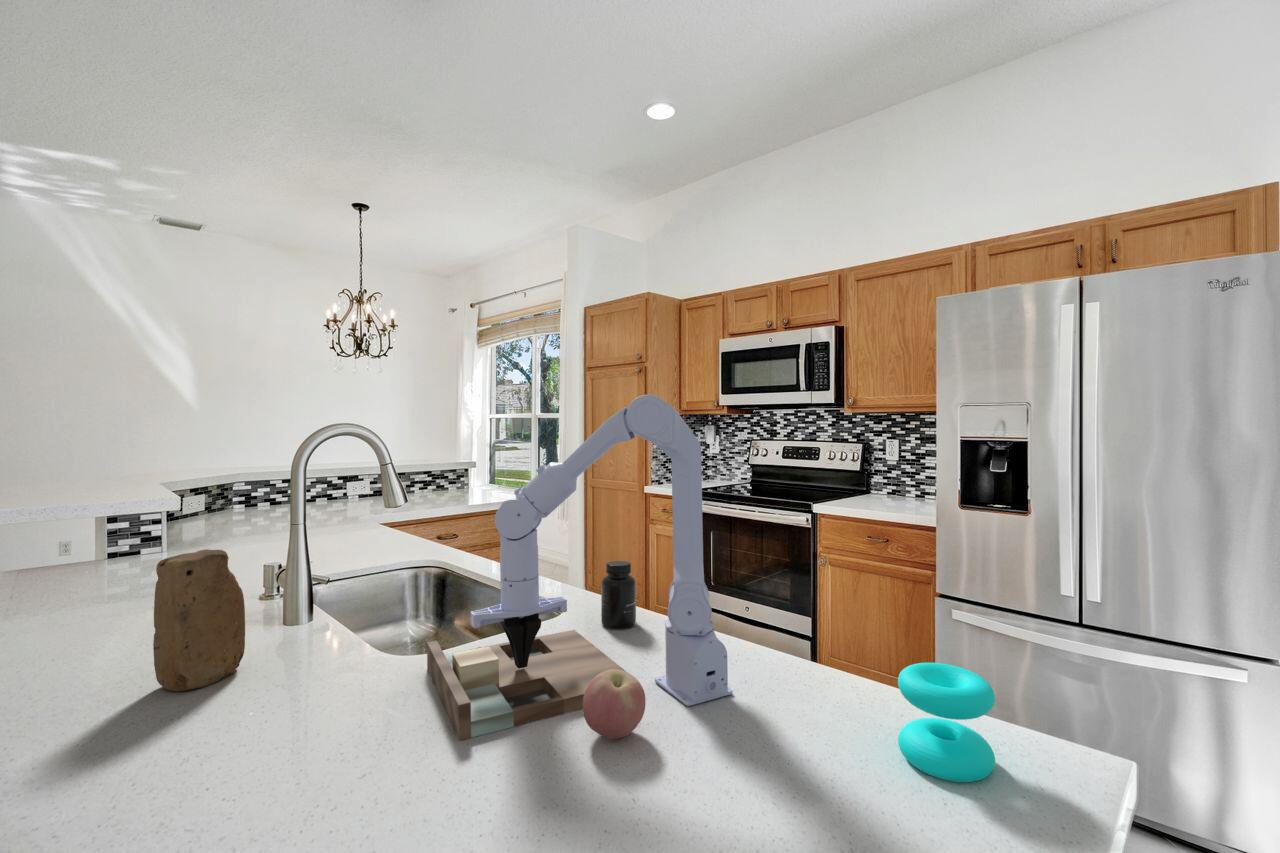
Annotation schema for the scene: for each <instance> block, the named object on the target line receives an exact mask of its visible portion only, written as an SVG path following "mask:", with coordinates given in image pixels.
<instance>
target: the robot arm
mask: <svg viewBox="0 0 1280 853" xmlns="http://www.w3.org/2000/svg"><path fill="white" fill-rule="evenodd" d="M635 435H636V436H637V437H639V438H641V439H643V440H645V441H648V442H650V443H652V444H655V446H657V448H658V449H660V450H661V451H662V452H663V453H665V455H667V457H669V458H670V460H671V486H672V487H671V496H672V497H671V500H672V501H671V502H672V542H673V543H672V548H673V549H672V551H673V579H672V582H671V583H670V586H669V589H668V605H667V610H666V611H667V620H666V621H665V623H664V625H665V629H664V630H665V674H664V675H660V676H657V677H655V678H654V682H655V683H656V684H658V685H659V686H660V687H662V688H663V689H664V690H666V691H667V692H668V693H670V694H671V695H672V696H673V697H675V699H677V700H679V702H681V703H683V704H684V705H685V706H686V707H687V706H688V707H691V706H694V705H698V704H702V703H704V702H708V701H711V700H715V699H719V698H723V697H726V696H729V695H732V694H733V689H731V688H730V687H729V686H728V684H729V683H728V680H729V679H728V668H729V667H728V651H727V648H726V646H725V645H724V643H723V642H722V641H721V640H720V639H719V638H718V637H717V635H716V633H715V627H714V626H715V625H714V621H713V620H712V615H713V614H712V613H713V611H712V606H711V603H710V596H709V595H710V592H709V589H708V586H707V585H706V583H705V573H704V572H705V571H704V570H705V569H704V537H703V536H704V535H703V534H704V533H703V532H704V530H703V528H704V526H703V525H704V524H703V483H702V482H703V480H702V478H703V476H702V473H703V472H702V448H701V443H700V441H699V439H698V438H697V437H696V435H695V433H693V431H692V430H691V429H690V427H689V426H688V425H687V423H686V422H685V420H684V419H683V418H682V417H681V414H680V413H679V412H678V410H676V408H675V407H673V406H672V405H671V404H669V403H668V402H667V401H665V400H664V399H662V398H661V397H660V396H657V395H653V394H643V395H639V396H638V397H636V398H635V399H633V400H632V401H631V402H630V404H629V405H628V406H627V407H626V406H625V407H623V408H622V409H620V410H618V411H617V412H616V413H614V414H613V415H612V416H610V417H609V418H608V419H607V420H605V421H603V423H602V424H601V425H600V426H599V427H598V428H597V429H596V430H595V431H593V433H592V434H591V435H590V436H589V437H587V438H586V440H584V442H582V443H581V445H580V446H578V447H577V448H576V450H574V451H573V452H572V453H571V454H570V455H569V456H568V457H567V458H566V459H565V460H564V461H563V462H555V461H551V462H549V463H548V464H547V465H545V464H541V465H540V466H539V467H538V468H537V469H536V470H535V471H536V473H537V474H536V475H535V476H534V477H532V479H530V481H528V483H526V484H525V485H524V486H523V487H520V486H519V487H518V488H516V489H515V490H514V491H513V494H514V495H515V497H514V498H512V499H511V498H510V499H508V500H504V501H503V502H502V503H501V505H500V506H499V507H498V509H497V510H496V512H495V514H494V524H495V528H496V530H497V532H498V533H499V535H500V536H499V542H500V547H499V566H500V567H499V574H500V577H499V578H500V603H499V604H496V605H492V606H489V607H485V608H482V609H478V610H471V611H470V625H471V627H472V628H473V629H477V628H481V626H485V625H490V624H496V623H500V625H501V627H502V629H503V631H504V633H505V635H506V637H507V640H508V642H510V645H511V648H512V652H513V656H514V662H515V665H516V666H517V667H518V668H519V669H520V668H524V667H527V665H528V659H529V655H530V651H531V647H532V644H533V642H534V639H535V637H537V634H538V633H539V630H540V629H541V627H542V619H541V618H539V617H540V616H543V615H547V614H553V613H558V612H559V613H567V612H568V600H567V599H566V598H565V597H563V596H557V597H545V598H543V597H542V598H540V586H539V584H540V582H539V581H540V580H539V579H540V578H539V577H540V576H539V574H540V573H539V545H538V529H537V528H538V527H539V526H540V524H541V522H542V519H544V518H545V519H546V518H547V517H549V515H551V513H553V512H554V511H555V510H556V509H557V508H558V507H560V505H562V503H564V502H565V500H567V499H568V498H569V497H570V496H571V495H572V494H574V492H576V490H577V480H578V477H579V476H580V475H582V474H583V473H584V472H585V471H586V470H587V469H589V467H590V466H592V465H593V464H594V463H596V461H598V460H599V459H600V458H601V457H602V456H604V455H605V454H606V453H607V452H608V451H609V450H611V449H612V448H613V446H615V445H616V444H620V443H623V442H627V441H632V440H634V439H636V436H635Z"/></svg>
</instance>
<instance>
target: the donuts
mask: <svg viewBox="0 0 1280 853" xmlns="http://www.w3.org/2000/svg"><path fill="white" fill-rule="evenodd" d="M897 677H898V678H897V686H898V689H899V691H900V693H901V695H902V696H903V698H904V699H905V700H906V701H908V703H910V704H911V705H912V706H914V707H915V708H917V709H919V710H921V711H922V712H924V713H927V714H929V715H933V716H934V717H924V718H917V719H914V720H911V721H910V722H907V723H906V724H904V725H903V727H902V728H901V729H900V731H899V734H898V737H897V739H898V740H897V742H898V743H897V744H898V747H899V750H900V752H901V753H902V755H903V757H904V758H905V759H906V760H907V761H908V762H909V763H910V764H911V765H912V766H914V767H915V768H916V769H918V770H920V771H922V772H923V773H925V774H927V775H930V776H932V777H935V778H938V779H941V780H945V781H949V782H958V783H971V782H978V781H980V780H983V779H985V778H987V777H988V776H990V774H991V773H992V772H993V771H994V768H995V766H996V757H995V753H994V751H993V748H992V746H991V745H990V744H989V742H988V741H987V740H986V739H985V738H984V737H983V736H982V735H981V734H980V733H978V732H977V731H975V730H974V729H972V728H970V727H968V726H967V725H964V724H961V723H959V722H956V720H959V721H961V720H962V721H963V720H965V721H966V720H973V719H978V718H981V717H982V716H985V715H986V714H988V713H989V712H991V710H992V709H993V707H994V706H995V705H994V704H995V702H996V696H995V692H994V689H993V688H992V686H991V684H989V682H988V681H987V680H986V679H985V678H984V677H982V676H980V675H979V674H977V673H975V672H973V671H971V670H969V669H967V668H964V667H960V666H957V665H952V664H948V663H942V662H941V663H940V662H919V663H914V664H913V663H912V664H911V665H908V666H906V667H904V668H903V669H901V671H900V672H899V674H898V676H897ZM936 717H939V718H936ZM953 720H955V721H953Z"/></svg>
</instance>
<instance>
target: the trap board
mask: <svg viewBox="0 0 1280 853" xmlns="http://www.w3.org/2000/svg"><path fill="white" fill-rule="evenodd" d="M484 647H490V648H491V650H492V651H493V652H494V653H495V655H496V656H497V657H498V659H499V683H496V684H492V685H487V686H483V687H478V688H474V689H469V690H465V691H464V689H463V687H462V686H461V684H460V682H459V680H458V678H457V676H456V675H455V673H454V671H453V669H452V653H457V652H463V651H468V650H473V649H479V648H484ZM426 659H427V660H426V663H427V664H426V666H427V672H428V675H429V677H430V679H431V681H432V684H433V685H434V688H435V690H436V693H437V695H438V697H439V699H440V701H441V704H442V706H443V707H444V710H445V713H446V715H447V717H448V720H449V723H450V724H451V726H452V728H453V730H454V732H455V735H456V737H457V740H458V741H460V742H461V741H463V740H467V739H472V738H474V737H475V738H476V737H478V736H483V735H486V734H492V733H494V732H499V731H502V730H506V729H510V728H515V727H518V726H522V725H526V724H529V723H530V724H531V723H533V722H534V723H535V722H536V721H542V720H545V719H549V718H553V717H555V716H556V717H557V716H561V715H564V714H568V713H572V712H576V711H579V710H583V697H584V693H585V691H586V688H587V686H588V685H589V683H590V682H591V681H592V679H593V678H595V677H596V676H597V675H598V674H600V673H602V672H604V671H606V670H610V669H618V670H623V671H626V670H625V669H624V668H623V667H621V665H619V664H618V663H616V662H615V661H614V660H613V659H612V658H611V657H609V656H608V655H607V654H605V653H604V652H603V651H601V650H600V649H599V648H597V647H596V646H595V645H594V644H593V643H592V642H591V641H589V640H588V639H587V638H585V636H583V635H581V633H579V632H578V631H576V630H575V629H572V630H567V631H561V632H555V633H551V634H544V635H539V636H536V637H535V639H534V642H533V644H532V647H531V651H530V655H529V659H528V665H527V667H524V668H520V669H519V668H518V667H517V666H516V665H515V662H514V656H513V652H512V648H511V645H510V642H509V641H508V642H502V643H498V644H491V645H486V646H482V647H476V648H470V649H465V650H460V651H455V652H449V653H444V652H443V650H442V648H441V646H440V644H439V642H438V640H432V641H427V642H426Z"/></svg>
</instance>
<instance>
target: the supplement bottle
mask: <svg viewBox="0 0 1280 853" xmlns="http://www.w3.org/2000/svg"><path fill="white" fill-rule="evenodd" d="M631 565H632V564H631V562H629V561H626V560H612V561H608V562H606V566H605V567H606V570H605V573H606V574H607V575H605V576H604V577H603V578H602V580H601V584H600V585H601V589H600V590H601V592H600V593H601V594H600V595H601V599H600V600H601V606H600V607H601V609H600V610H601V613H600V617H601V625H602V626H603V627H606V628H608V629H611V630H613V629H614V630H623V629H625V630H626V629H630V628H632V627H634V626H635V624H636V620H637V582H636V579H635V577H634V576H632V575H631V573H632V566H631Z"/></svg>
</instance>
